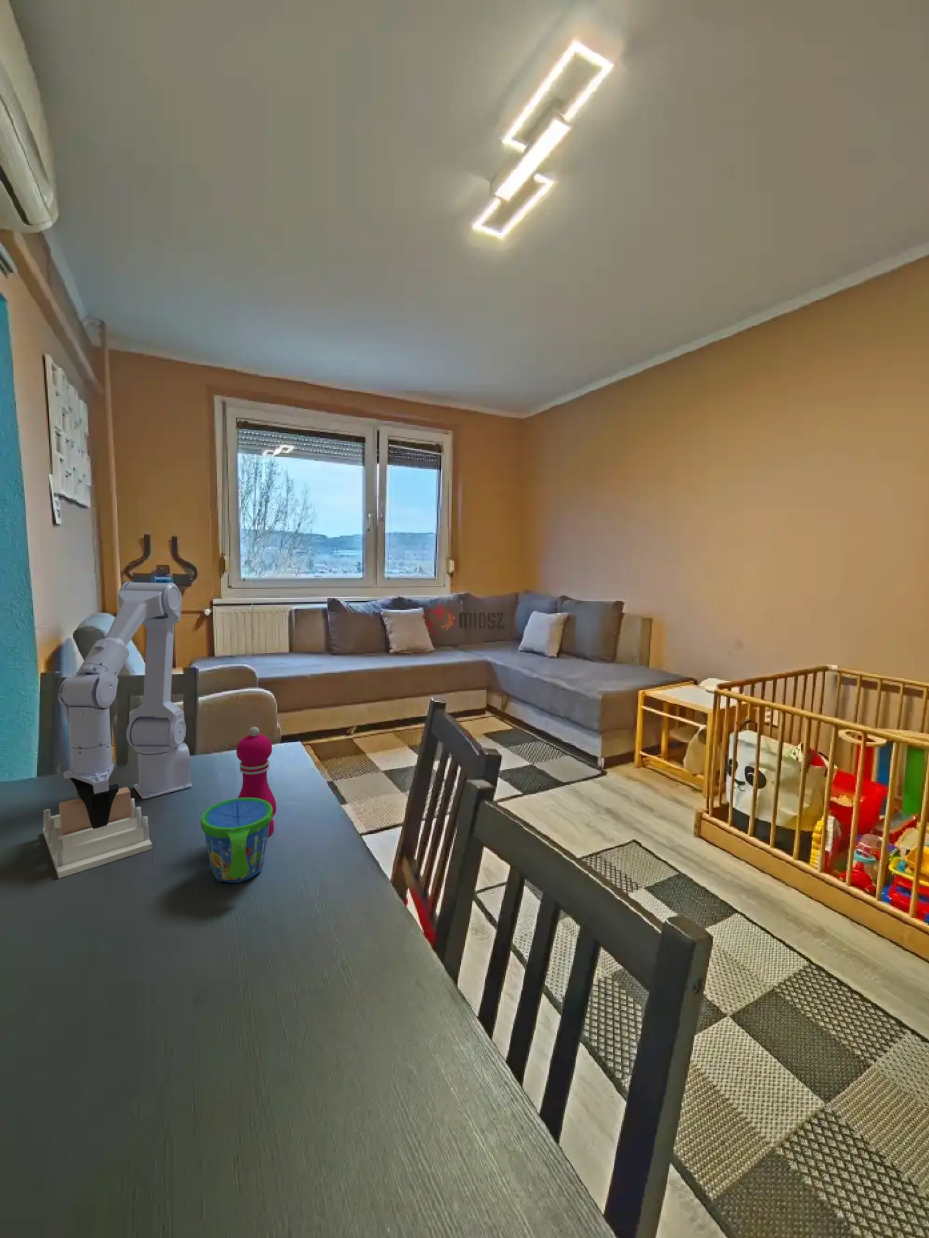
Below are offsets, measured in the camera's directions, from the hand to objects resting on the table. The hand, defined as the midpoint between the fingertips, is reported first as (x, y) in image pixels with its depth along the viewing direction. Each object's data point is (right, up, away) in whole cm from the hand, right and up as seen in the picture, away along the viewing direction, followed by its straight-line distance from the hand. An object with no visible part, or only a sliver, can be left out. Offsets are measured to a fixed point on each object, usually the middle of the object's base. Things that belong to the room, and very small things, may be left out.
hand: (95, 818), depth 95 cm
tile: (0, -3, +1) cm, 3 cm away
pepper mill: (+26, -5, +5) cm, 27 cm away
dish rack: (0, -4, +1) cm, 4 cm away
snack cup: (+28, -6, -7) cm, 29 cm away
